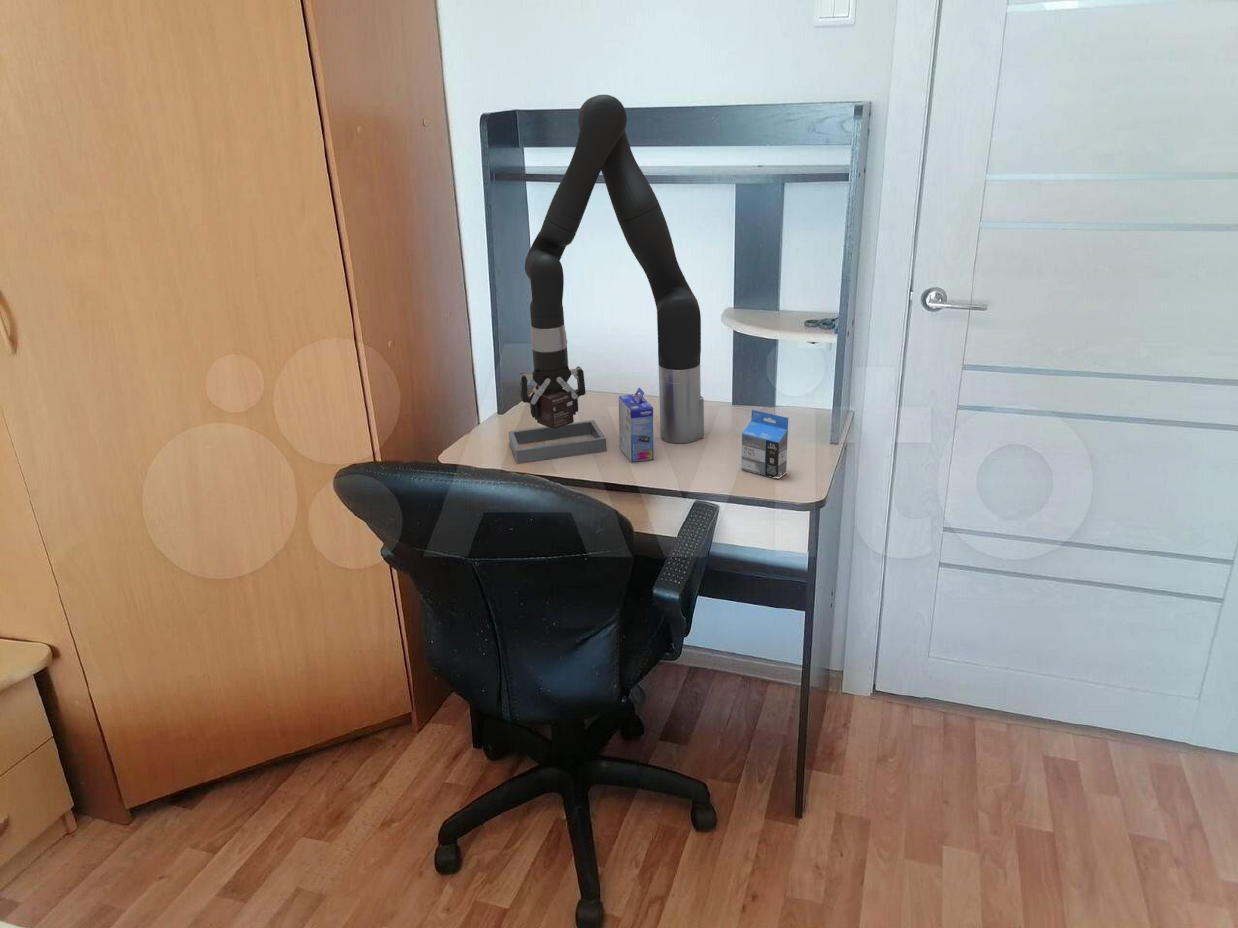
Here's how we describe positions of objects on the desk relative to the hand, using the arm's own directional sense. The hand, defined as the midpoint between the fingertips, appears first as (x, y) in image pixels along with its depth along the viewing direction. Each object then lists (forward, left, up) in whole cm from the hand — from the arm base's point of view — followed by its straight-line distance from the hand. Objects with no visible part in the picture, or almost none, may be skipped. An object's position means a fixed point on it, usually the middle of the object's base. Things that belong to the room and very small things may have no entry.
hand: (554, 416), depth 201 cm
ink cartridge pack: (-38, +28, -8) cm, 48 cm away
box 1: (0, 0, -2) cm, 2 cm away
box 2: (0, 0, -7) cm, 7 cm away
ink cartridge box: (-16, +10, -8) cm, 20 cm away
